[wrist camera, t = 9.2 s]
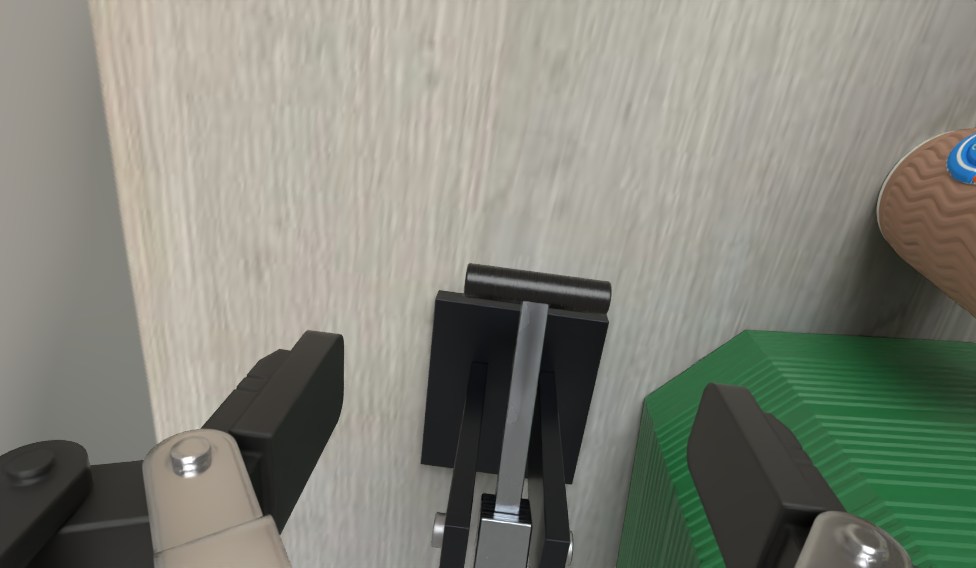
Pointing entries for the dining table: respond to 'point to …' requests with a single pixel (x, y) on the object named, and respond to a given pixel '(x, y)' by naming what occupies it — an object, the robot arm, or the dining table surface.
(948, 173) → the coffee cup
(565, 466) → the black upright frame
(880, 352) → the planter
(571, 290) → the lever
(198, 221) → the dining table surface
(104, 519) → the robot arm
